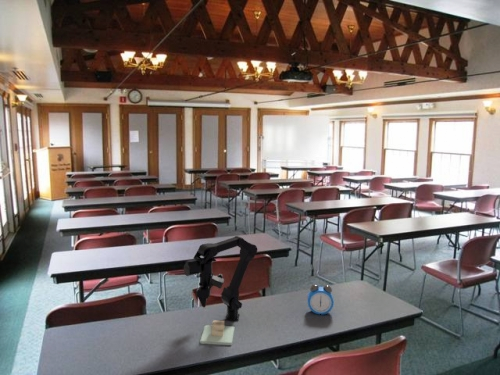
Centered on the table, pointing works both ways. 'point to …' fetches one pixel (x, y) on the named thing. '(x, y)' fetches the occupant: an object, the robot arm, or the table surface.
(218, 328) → the birch cube
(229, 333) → the green pad
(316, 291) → the alarm clock
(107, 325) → the table surface
